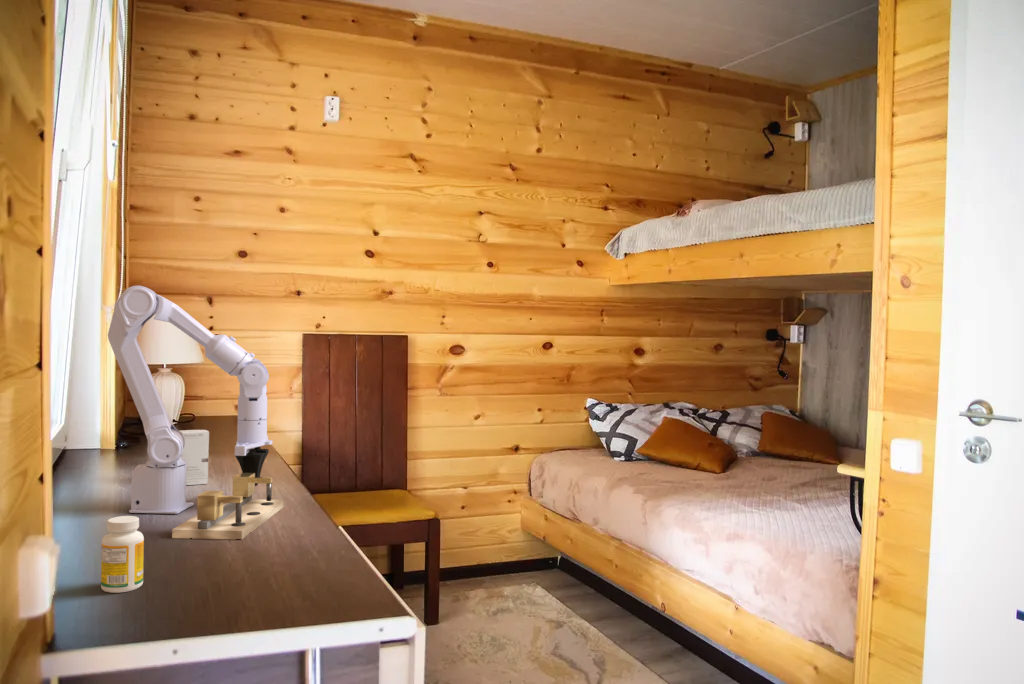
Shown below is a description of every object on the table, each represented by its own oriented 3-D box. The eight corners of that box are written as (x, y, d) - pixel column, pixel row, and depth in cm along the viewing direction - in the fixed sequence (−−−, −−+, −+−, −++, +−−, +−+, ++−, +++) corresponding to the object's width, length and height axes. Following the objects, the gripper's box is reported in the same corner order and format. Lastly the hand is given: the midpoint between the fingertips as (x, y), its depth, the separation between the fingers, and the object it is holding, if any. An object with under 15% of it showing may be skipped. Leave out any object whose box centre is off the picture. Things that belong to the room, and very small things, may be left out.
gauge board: (172, 538, 137) (172, 497, 137) (224, 505, 161) (224, 471, 161) (241, 539, 137) (242, 499, 137) (283, 507, 161) (283, 472, 161)
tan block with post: (232, 502, 156) (232, 476, 156) (239, 497, 160) (240, 472, 160) (268, 502, 156) (268, 477, 156) (274, 498, 160) (274, 473, 160)
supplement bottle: (111, 596, 108) (111, 526, 108) (94, 587, 112) (94, 519, 111) (150, 586, 112) (151, 519, 112) (133, 578, 116) (133, 512, 115)
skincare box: (180, 486, 178) (181, 432, 178) (176, 483, 182) (177, 430, 182) (209, 484, 182) (209, 431, 182) (204, 480, 186) (205, 428, 185)
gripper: (260, 423, 155) (259, 493, 155) (282, 415, 169) (281, 478, 170) (224, 423, 155) (223, 492, 155) (249, 414, 169) (248, 478, 170)
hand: (251, 485), depth 162 cm, fingers closed
